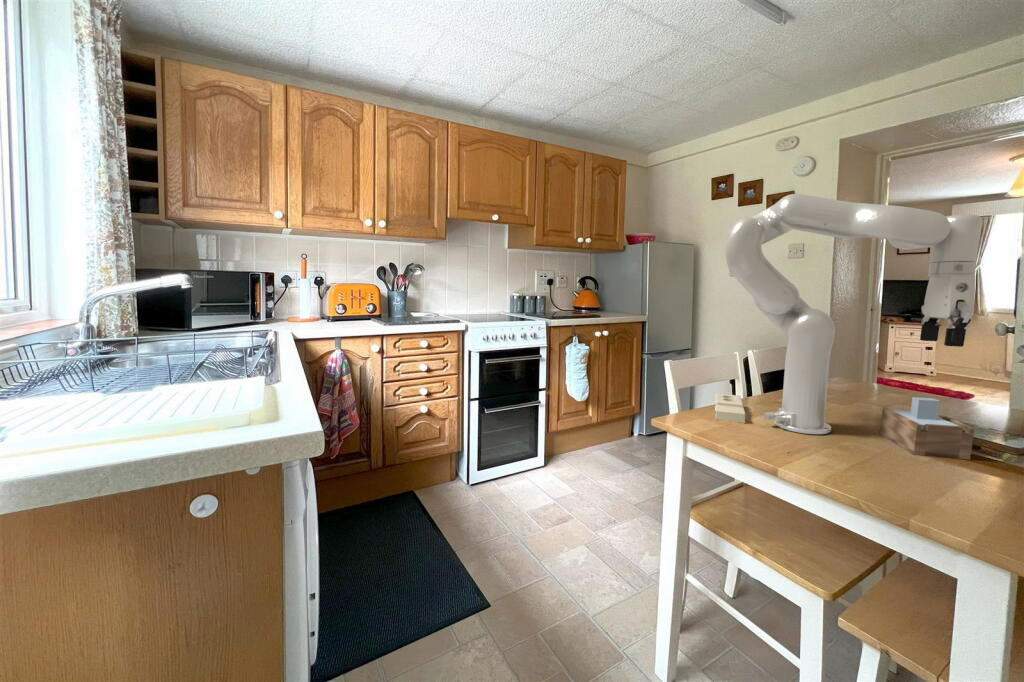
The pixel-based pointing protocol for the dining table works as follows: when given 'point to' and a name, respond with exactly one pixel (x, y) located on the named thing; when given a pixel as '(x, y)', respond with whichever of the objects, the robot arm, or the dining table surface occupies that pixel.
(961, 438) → the box
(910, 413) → the lid
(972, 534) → the dining table surface
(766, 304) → the robot arm
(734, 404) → the electrical outlet
